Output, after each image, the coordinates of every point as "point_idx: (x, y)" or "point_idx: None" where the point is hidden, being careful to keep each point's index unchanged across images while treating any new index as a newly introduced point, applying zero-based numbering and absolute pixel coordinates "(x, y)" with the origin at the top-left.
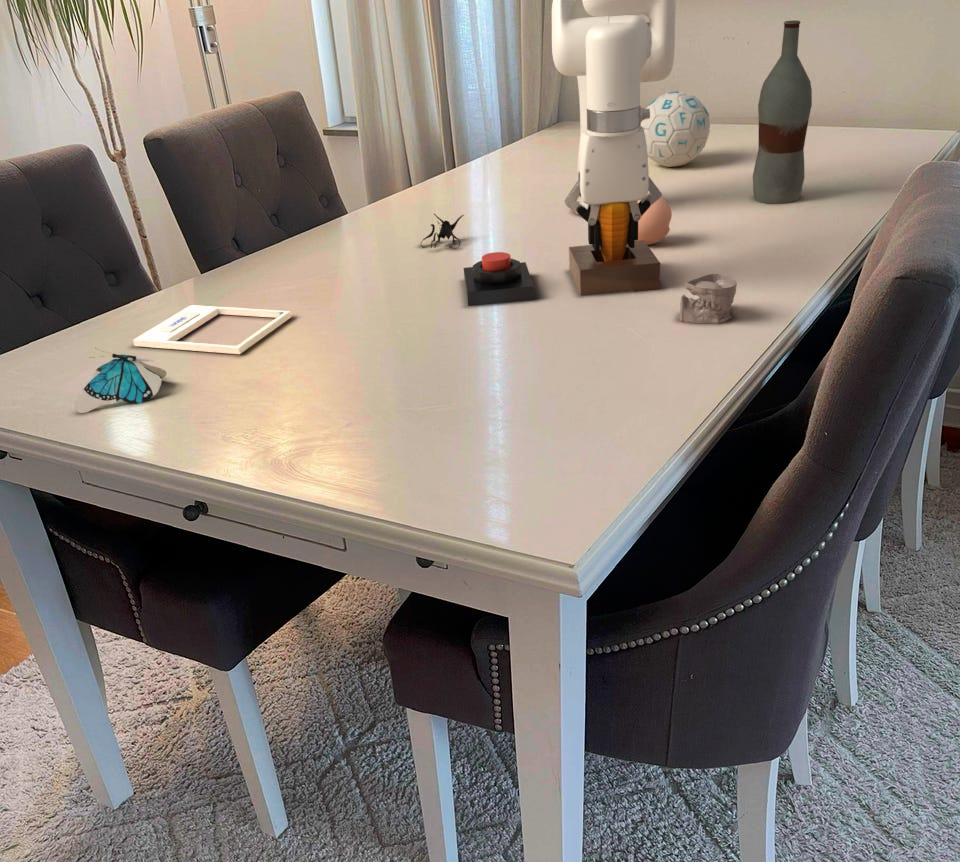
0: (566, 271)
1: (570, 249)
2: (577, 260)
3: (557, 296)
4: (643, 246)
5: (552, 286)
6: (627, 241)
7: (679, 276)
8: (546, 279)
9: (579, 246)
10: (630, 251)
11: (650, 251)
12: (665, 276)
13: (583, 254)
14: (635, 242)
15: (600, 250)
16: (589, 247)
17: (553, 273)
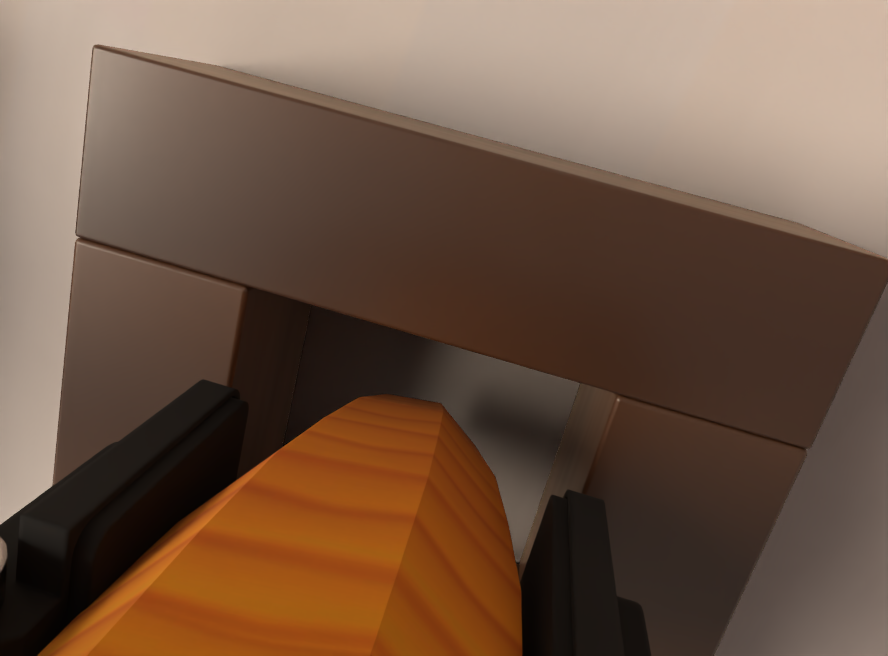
0: (195, 43)
1: (84, 141)
2: (66, 474)
3: (24, 482)
4: (752, 457)
5: (30, 306)
6: (530, 565)
7: (859, 588)
8: (20, 147)
9: (192, 91)
10: (586, 468)
11: (717, 616)
12: (777, 537)
13: (154, 358)
14: (761, 297)
15: (342, 312)
16: (270, 187)
17: (93, 37)
